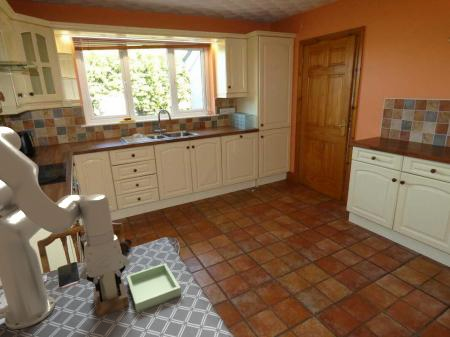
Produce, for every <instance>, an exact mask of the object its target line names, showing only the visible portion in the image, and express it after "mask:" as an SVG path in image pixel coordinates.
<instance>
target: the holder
mask: <svg viewBox="0 0 450 337" xmlns="http://www.w3.org/2000/svg"><path fill="white" fill-rule="evenodd" d="M121 282H122V283H121V284H120V288H119V289H118V288H117V290H118V294H120V295H118V297H116V298H113V299H110V300H107V301H105V302H103V301H101V299H102V294H101V295H99V291H97V292H96V288H95V287H93V299H94V306H95V313H96V316H97V319H99V318H101V317H104V316H106V315H110V314H112V313H115V312H118V311H121V310H123V309H126V308H128V307H130V303H129V296H128V293H127V289H126V286H125V283H124V279H123V278H121Z"/></svg>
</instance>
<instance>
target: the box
mask: <svg viewBox="0 0 450 337" xmlns="http://www.w3.org/2000/svg"><path fill="white" fill-rule="evenodd" d="M111 271H112V272H109V273H106V274H103V275H100V276H98V279H99V282H100V288H101V294H102V298H101V299H102V302H105V301H107V300H110V299H113V298H116V297H119V293H118V290H117V284H116V278H115V271H113V270H111Z"/></svg>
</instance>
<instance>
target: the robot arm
mask: <svg viewBox="0 0 450 337" xmlns="http://www.w3.org/2000/svg"><path fill="white" fill-rule="evenodd" d="M21 148H22V139H21V137H20V136H19V134H18V133H17V132H16V131H15V130H13V129H12V128H10V127H8V126H7V127H6V126H4V125H0V216H1V217H0V283H1V286H2V290H3V293H4V296H5V297H4V298H5V300H6V303H7V305H4V306H3V307H2V308H0V320H2V319H4V322H5V326H6V327H7V328H9V329H12V330H19V329H25V328H28V327H31V326H33V325H37V323H39V322H42V321H43V320H45V319H46V318H47V317H48V316H50V314H51V313H52V312H53V310H54V309H55V307H56V301H55V298H54V297H53V296H50V295H48V293H47V289H46V286H45V285H46V284H45V280H44V277H43V273H42V269H41V265H40V264H41V263H40V261H39V260H40V259H39V256H38V254H37V252H36V251H37V250H35V249H34V247H33V246H32V245H31V243H30V240H31V239H32V238H33V237H34V236H35V235H36V234H37V233H38V232H39V231H40V230H41V229H42V230H44V231H47V232H49V233H52V234H62V233H65V232H67V231H68V230H70V229H71V228H72V227H73V226H74V224H75V223H76V222H77V221H80V220H82V224H83V230H84V235H81V236H80V237H79V239H80V242H84V247H83V249H84V250H83V254H84V255H83V256H84V264H85V265H84V266H83V267H82V269H81V271H80V273H79V274H78V275H79V279H83V280H85V281H88V282H91V283H93V284H94V288H96V292H97V291H99V295H101V288H100V282H99V276H100V275H103V274H106V273H109V272H112V271H111V270H113V271H115V278H116V284H117V288H118V289H119V288H120V284H121V283H122V282H121V279H122V277H121V276H122V273H124V271H125V269H126V268H127V267H128V266H129V265H130V264H131V259H130V258H128V257H126V255H124V254H123V255H122V252H121V247H120V241H119V239H118V236H117V235H116V234H115V233H114V227H113V221H112V216H111V209H110V202H109V198H108V196H107V195H105V194H103V193H96V194H94V193H93V194H90V195H83V194H82V195H81V194H67V195H64V196H62V197H61V198H60V199H58V200H57V201H53V200H52V199H51V198H49V197H48V196H47V194H46V193H44V191H43V189H42V188H41V186H40V184H39V170H40V169H39V166H38V164H37V163H35V162H34V161H33V160H32V159H31V158H29V157H28V156H27V155H25V153H23V152H22V151H20V149H21Z"/></svg>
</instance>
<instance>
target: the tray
mask: <svg viewBox="0 0 450 337" xmlns="http://www.w3.org/2000/svg"><path fill="white" fill-rule="evenodd" d="M125 276H126V282H127V287H128V289H129V291H130V292H129V293H130V296H131V298H132V302H133V304H134V309H135V311H136V313H139V312H142V311H145V310H147V309H151V308H152V307H155V306H157V305H160V304H162V303H163V304H164V303H165V302H169V301H171V300H173V299H176V298H178V297H182V288H181V286H180V284H179V282H178V280H177V279H176V278H175V276H174V273H172V271H171V268H169V266H168V264H167V263H166V262H165V263H161V264H158V265H155V266H151V267H149V268H146V269H143V270H140V271H136V272H133V273H131V274H127V275H125Z"/></svg>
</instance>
